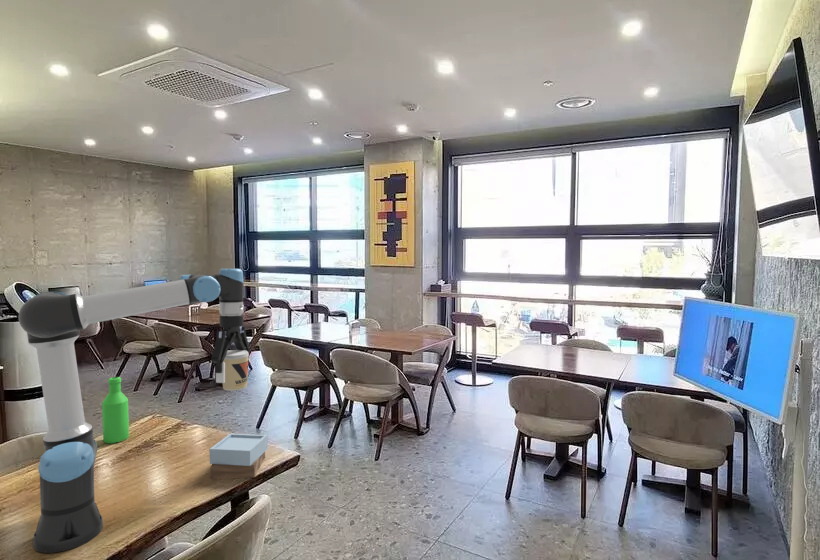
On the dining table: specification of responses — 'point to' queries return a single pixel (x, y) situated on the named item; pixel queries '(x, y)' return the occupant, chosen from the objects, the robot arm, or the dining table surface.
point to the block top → (238, 449)
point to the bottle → (115, 413)
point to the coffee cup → (236, 370)
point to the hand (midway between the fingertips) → (231, 377)
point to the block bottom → (236, 470)
